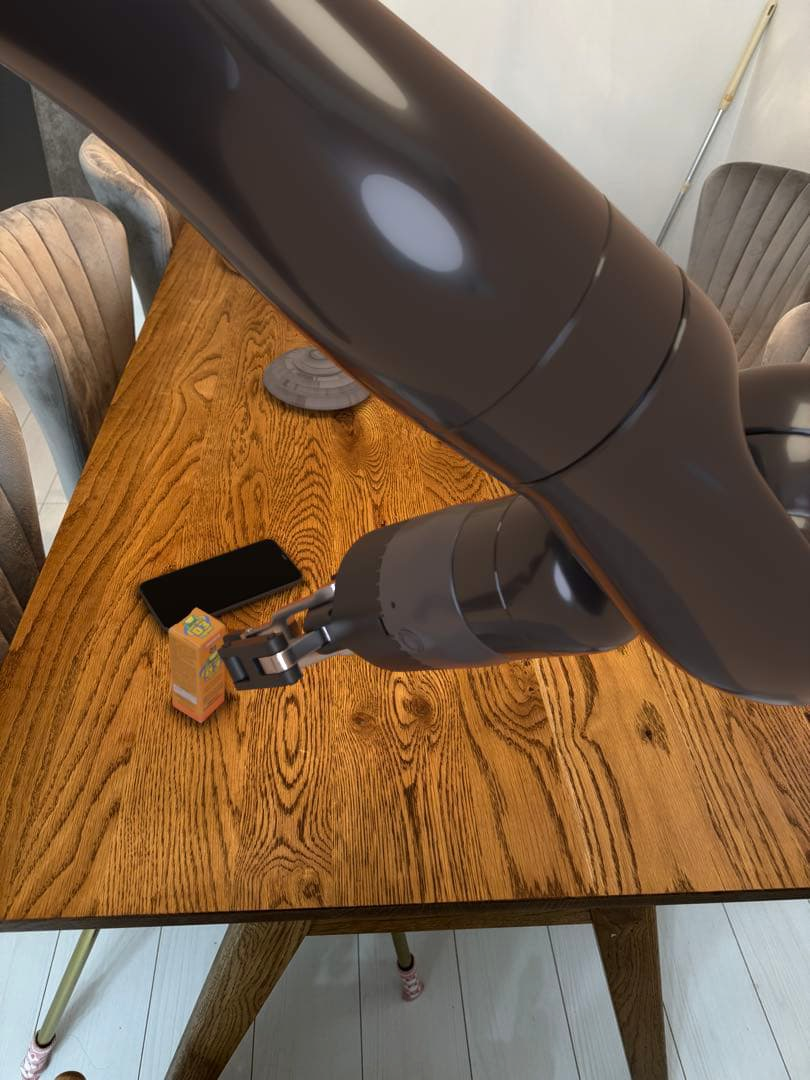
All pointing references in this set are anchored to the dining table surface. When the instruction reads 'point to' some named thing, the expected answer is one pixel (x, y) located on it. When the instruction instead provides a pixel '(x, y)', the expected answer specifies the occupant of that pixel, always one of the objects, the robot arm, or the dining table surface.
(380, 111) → the robot arm
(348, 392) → the flying saucer
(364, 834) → the dining table surface
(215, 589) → the smartphone
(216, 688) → the supplement box
